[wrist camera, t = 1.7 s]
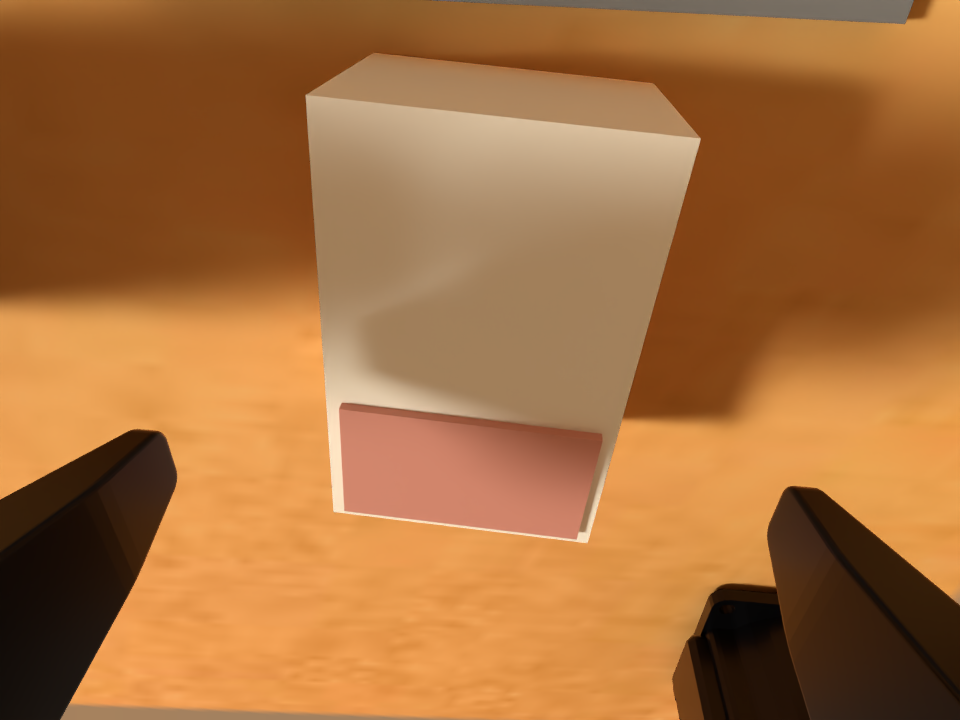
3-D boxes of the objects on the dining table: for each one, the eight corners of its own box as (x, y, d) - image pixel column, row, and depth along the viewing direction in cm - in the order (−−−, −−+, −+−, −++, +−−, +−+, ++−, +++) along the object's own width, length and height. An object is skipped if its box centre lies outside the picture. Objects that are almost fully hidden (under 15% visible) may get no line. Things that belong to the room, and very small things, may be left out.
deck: (651, 81, 12) (704, 142, 8) (577, 413, 17) (588, 550, 13) (375, 51, 12) (300, 98, 9) (378, 390, 17) (331, 518, 13)
